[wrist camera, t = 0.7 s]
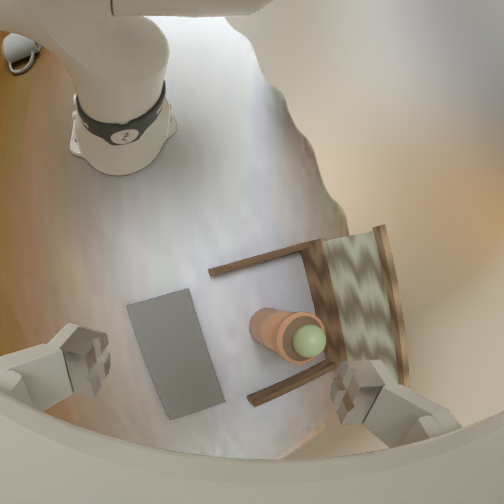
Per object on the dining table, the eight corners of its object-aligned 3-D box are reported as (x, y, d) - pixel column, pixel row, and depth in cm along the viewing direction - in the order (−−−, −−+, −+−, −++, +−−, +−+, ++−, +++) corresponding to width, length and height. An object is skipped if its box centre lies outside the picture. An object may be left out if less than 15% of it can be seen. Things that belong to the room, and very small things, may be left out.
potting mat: (126, 305, 40) (126, 306, 40) (187, 288, 44) (188, 288, 43) (169, 417, 41) (169, 420, 40) (224, 399, 44) (225, 401, 44)
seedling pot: (241, 313, 47) (287, 328, 32) (279, 299, 50) (335, 307, 35) (253, 352, 47) (300, 381, 32) (289, 337, 50) (345, 357, 35)
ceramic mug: (10, 51, 32) (2, 30, 25) (41, 37, 35) (36, 15, 28) (6, 82, 33) (-4, 61, 26) (40, 66, 36) (33, 43, 29)
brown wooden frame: (208, 269, 46) (256, 263, 27) (303, 242, 52) (384, 224, 33) (248, 400, 46) (308, 457, 27) (331, 361, 52) (409, 388, 34)
